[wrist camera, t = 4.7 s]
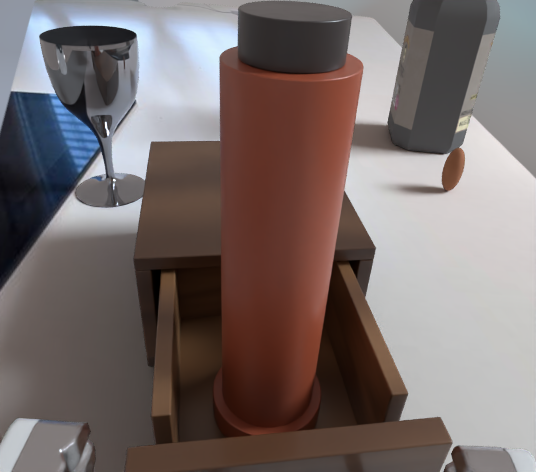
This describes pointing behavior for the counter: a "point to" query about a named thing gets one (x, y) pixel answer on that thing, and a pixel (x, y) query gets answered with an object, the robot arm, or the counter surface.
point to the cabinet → (204, 224)
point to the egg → (453, 169)
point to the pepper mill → (280, 207)
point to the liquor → (441, 72)
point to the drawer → (327, 371)
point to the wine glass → (97, 96)
